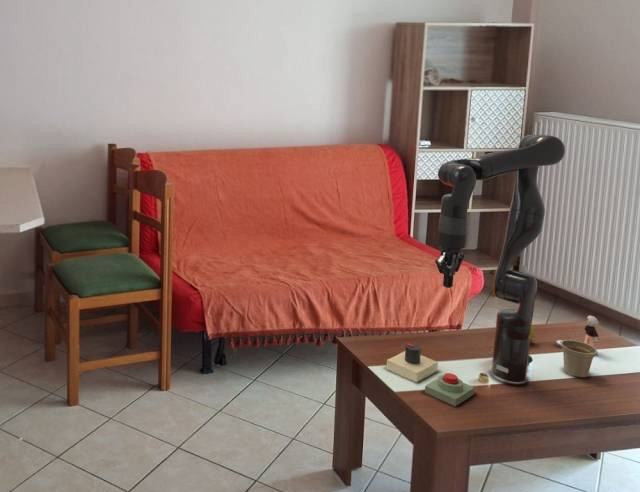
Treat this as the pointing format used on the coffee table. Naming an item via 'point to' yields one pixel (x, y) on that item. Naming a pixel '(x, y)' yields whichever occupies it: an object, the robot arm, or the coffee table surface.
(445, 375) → the button
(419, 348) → the hob knob
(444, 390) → the switch box
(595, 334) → the grandmother figurine
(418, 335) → the coffee table surface
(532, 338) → the lemon
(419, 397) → the coffee table surface
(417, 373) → the panel
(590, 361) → the flower pot
